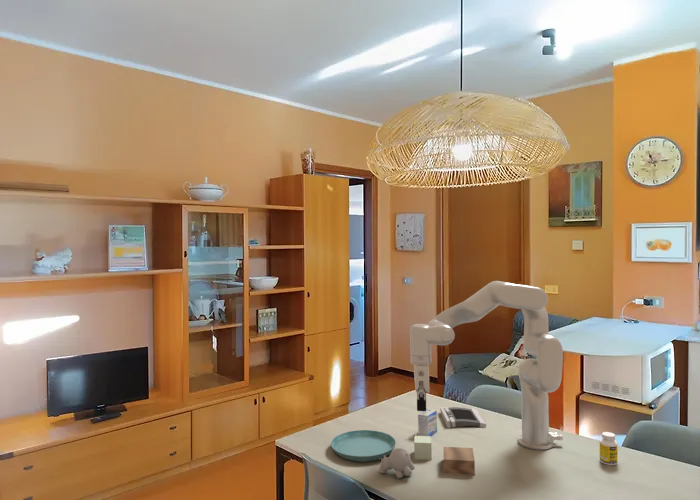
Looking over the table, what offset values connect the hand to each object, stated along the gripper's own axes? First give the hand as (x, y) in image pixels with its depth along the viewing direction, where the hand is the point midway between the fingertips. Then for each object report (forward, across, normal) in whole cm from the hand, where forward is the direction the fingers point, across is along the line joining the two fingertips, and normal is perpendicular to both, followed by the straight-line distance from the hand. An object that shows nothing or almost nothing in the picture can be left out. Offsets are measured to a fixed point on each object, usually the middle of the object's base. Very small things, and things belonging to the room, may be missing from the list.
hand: (421, 406), depth 178 cm
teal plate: (+19, +3, +22) cm, 29 cm away
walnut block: (+18, -8, -12) cm, 23 cm away
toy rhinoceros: (+18, -15, +9) cm, 25 cm away
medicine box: (+18, +20, -2) cm, 27 cm away
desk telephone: (+19, +36, -17) cm, 44 cm away
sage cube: (+18, 0, 0) cm, 18 cm away
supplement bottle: (+18, 0, -63) cm, 66 cm away
